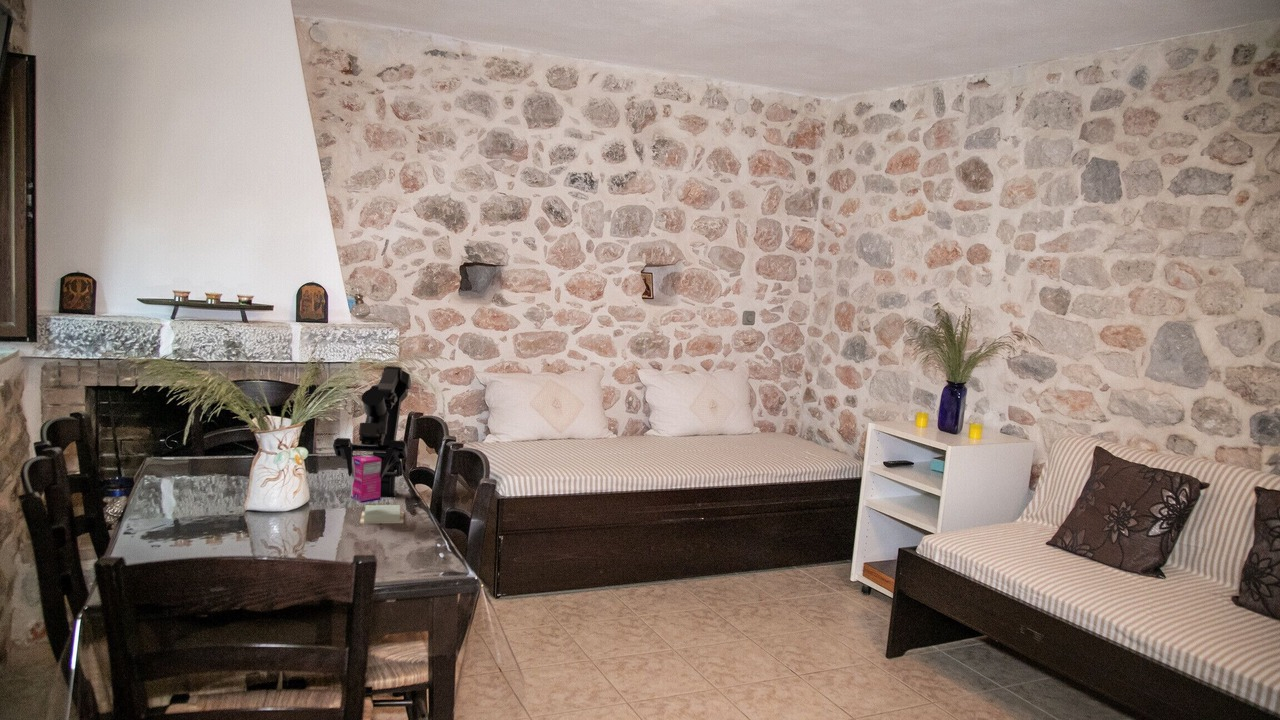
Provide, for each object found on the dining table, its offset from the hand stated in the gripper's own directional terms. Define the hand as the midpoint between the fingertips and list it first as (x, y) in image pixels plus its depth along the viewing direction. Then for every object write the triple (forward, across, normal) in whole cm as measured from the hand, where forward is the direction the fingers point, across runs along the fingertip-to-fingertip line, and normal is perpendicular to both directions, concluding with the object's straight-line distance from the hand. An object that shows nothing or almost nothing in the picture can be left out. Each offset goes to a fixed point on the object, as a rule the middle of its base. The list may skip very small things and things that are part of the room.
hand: (365, 475), depth 219 cm
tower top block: (+6, +4, +10) cm, 13 cm away
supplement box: (+4, 0, +6) cm, 7 cm away
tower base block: (+8, +4, +12) cm, 15 cm away
